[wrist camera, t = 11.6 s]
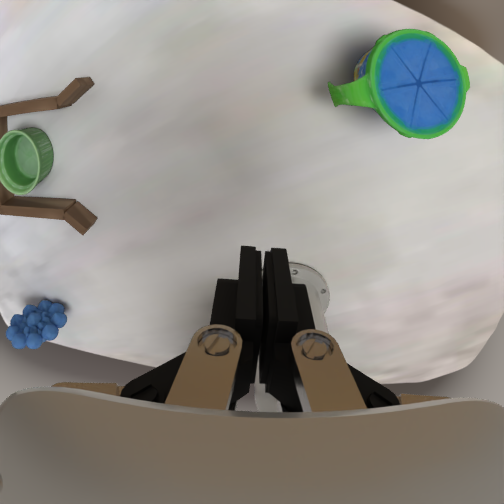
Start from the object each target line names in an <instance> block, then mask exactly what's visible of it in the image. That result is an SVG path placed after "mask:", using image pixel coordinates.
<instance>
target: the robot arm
mask: <svg viewBox="0 0 504 504" xmlns="http://www.w3.org/2000/svg"><path fill="white" fill-rule="evenodd" d="M329 301H330V294H329V290H328V286H327V284H326V281H325V280H324V279H323V277H322V276H321V275H320V274H319V273H318V272H316V271H315V270H313V269H311V268H310V267H307V266H304V265H300V264H293V263H291V264H289V262H288V256H287V251H286V249H281V248H271V252H269V251H265V258H264V267H263V271H262V263H261V251H256V247H252V246H241V252H240V265H239V279H238V280H232V279H218V280H217V285H216V291H215V297H214V303H213V309H212V315H211V321H210V325H208V326H205V327H202V328H201V329H199V330H198V331H197V332H196V333H195V334H194V336H193V337H192V340H191V342H190V344H189V347H188V349H187V351H186V352H185V353H183V354H181V355H179V356H177V357H176V358H174V359H172V360H170V361H168V362H166V363H164V364H162V365H161V366H159V367H157V368H155V369H153V370H151V371H149V372H147V373H145V374H144V375H142V376H140V377H138V378H136V379H134V380H132V381H130V382H129V383H128V384H126V386H118V385H117V383H73V382H62V383H56V384H54V385H52V386H51V387H36V388H28V389H24V390H20V391H17V392H15V393H13V394H11V395H10V396H9V397H8V398H6V400H5V401H4V402H3V403H2V404H1V405H0V504H504V407H502V406H501V405H499V404H497V403H495V402H491V401H489V400H483V399H478V398H449V397H440V396H426V395H425V396H424V395H413V394H400V396H396V395H395V394H394V393H393V392H391V391H390V390H389V389H387V388H386V387H384V386H382V385H381V384H379V383H378V382H376V381H374V380H373V379H371V378H369V377H368V376H366V375H365V374H363V373H362V372H360V371H358V370H357V369H355V368H354V367H352V366H350V365H349V364H347V363H346V360H345V358H344V356H343V354H342V352H341V349H340V347H339V345H338V343H337V342H336V340H335V339H334V338H333V337H332V336H331V335H329V332H328V328H327V324H326V320H325V316H324V313H325V312H326V310H327V308H328V305H329ZM250 383H254V396H255V403H256V406H257V409H258V411H259V412H249V411H236V408H237V402H238V400H239V399H240V398H241V397H243V396H244V395H246V394H247V393H248V392H249V388H250Z"/></svg>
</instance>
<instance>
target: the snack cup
mask: <svg viewBox="0 0 504 504" xmlns="http://www.w3.org/2000/svg"><path fill="white" fill-rule="evenodd" d="M328 88H329V91H330V94H331V98H332V100H333V103H334V106H335V107H337V106H338V105H341V104H343V105H351V106H353V105H355V106H362V107H370V108H372V109H373V110H375V111H376V112H377V113H378V114H379V115H380V116H381V118H382V119H383V120H384V121H385V122H386V123H387V124H388V125H390V126H391V127H392V128H394V129H395V130H397V131H398V133H399V134H401V135H403V136H405V137H408V138H411V137H414V138H419V139H431V138H435V137H438V136H440V135H442V134H444V133H446V132H447V131H449V130H450V129H451V128H452V127H453V126H454V125H455V124H456V122H457V121H458V119H459V118H460V116H461V114H462V111H463V108H464V105H465V99H466V92H467V91H468V90H469V88H470V82H469V76H468V72H467V69H466V67H464V66H462V65H460V64H459V62H458V60H457V58H456V56H455V55H454V54H453V52H452V51H451V49H450V48H449V47H448V46H447V45H446V44H445V43H444V42H442V41H441V40H440V39H438V38H437V37H435V35H433V34H431V33H429V32H425V31H421V30H416V29H403V30H398V31H394V32H392V33H390V34H388V35H383V36H382V37H380V38H379V39H378V40H377V41H376V44H375V46H374V47H373V48H372V49H371V50H370V51H368V52H367V53H365V54H364V55H363V57H361V58H360V59H359V61H358V63H357V64H356V67H355V71H354V81H353V82H351V83H346V84H342V85H338V86H334V85H333V84H331V83H330V82H328Z"/></svg>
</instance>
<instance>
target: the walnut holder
mask: <svg viewBox="0 0 504 504" xmlns="http://www.w3.org/2000/svg"><path fill="white" fill-rule="evenodd" d="M93 85H94V83H93V81H92V79H91V78H90V77H85V78H75V79H74V80H73V81H72V82H71V83H70V84H69V85H68V86H67V87H66V88H65V89H64V90H63V91H62V92H61V93H60V94H59V95H58V96H54V97H46V98H39V99H33V100H27V101H21V102H16V103H11V104H6V105H1V106H0V139H1V138H2V137H3V135H5V134H6V133H7V116H10V115H16V114H23V113H30V112H37V111H45V110H54V109H60V108H64V107H68V106H72V104H73V103H75V102H76V101H77V100H78V99H79V98H80V97H81V96H82V95H83V94H84V93H85V92H86V91H88V90H89V89H90V88H91V87H92V86H93ZM0 214H1V215H13V216H25V217H36V218H48V219H59V220H65V221H66V222H68V223H69V224H70V225H71V226H72V227H73V228H75V229H76V230H77V231H78V232H79V233H81V234H82V235H84V234H85V233H86V232H87V231H88V230H89V229H90V227H91V226H92V225H93V224H94V223H95V221H96V220H97V217H96V216H95V215H94V214H92V213H91V212H90V211H89V210H88V209H86V208H85V207H84V206H83V205H82V204H81V203H79V202H77V203H76V199H62V198H43V197H21V196H14V193H12V192H10V191H9V190H7V189H6V188H5V187H4V185H3V184H2V183H1V181H0Z"/></svg>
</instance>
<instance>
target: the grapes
mask: <svg viewBox="0 0 504 504" xmlns="http://www.w3.org/2000/svg"><path fill="white" fill-rule="evenodd" d="M64 309H65V308H64V306H63V305H62V304H60V303H53V304H52V303H51V302H50V301H47V300H42V301H41V302H40V303H39V305H38V307H36V306H34V305H26V307H25V308H24V310H23V315H20V314H15V315H14V316H13V317H12V319H11V323H10V324H11V326H9V328H8V329H7V331H6V337H7V339H9V340H10V341H12V345H13V347H14V348H16V349H23V348H24V347H25V346H26V345H27V347H28V348H30V349H37V348H39V347H40V346H41V344H42V342H45V341H46V340H49V341H50V340H54V339H55V338H56V337H57V335H58V331H59V330H58V328H62V327H63V326H64V325H65V324H66V322H67V316H66V315H65V314H64Z"/></svg>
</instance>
